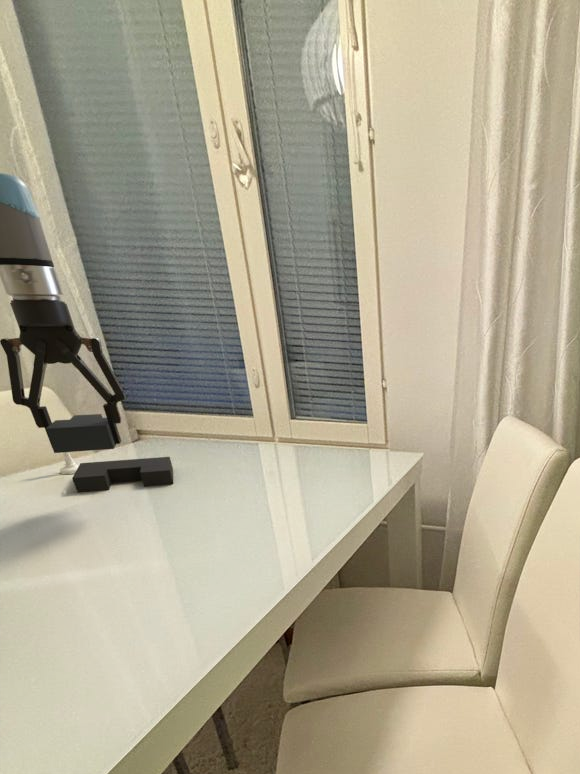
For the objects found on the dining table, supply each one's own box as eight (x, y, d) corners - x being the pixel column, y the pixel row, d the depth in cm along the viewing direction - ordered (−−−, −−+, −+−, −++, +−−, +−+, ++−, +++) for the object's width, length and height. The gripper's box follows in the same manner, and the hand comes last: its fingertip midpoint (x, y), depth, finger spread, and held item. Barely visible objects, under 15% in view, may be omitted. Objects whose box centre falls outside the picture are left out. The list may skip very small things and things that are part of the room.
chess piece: (66, 475, 125) (49, 429, 120) (56, 472, 127) (39, 426, 122) (89, 471, 128) (74, 426, 123) (79, 468, 131) (63, 423, 125)
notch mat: (77, 492, 114) (71, 478, 112) (85, 476, 124) (80, 463, 123) (173, 483, 120) (169, 470, 119) (173, 469, 131) (169, 456, 130)
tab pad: (54, 453, 94) (44, 428, 92) (68, 438, 105) (60, 416, 103) (114, 448, 98) (106, 425, 95) (121, 434, 108) (114, 413, 106)
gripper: (-57, 296, 81) (10, 453, 92) (112, 299, 89) (153, 444, 100) (-40, 297, 87) (20, 445, 98) (117, 300, 94) (155, 436, 106)
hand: (87, 444), depth 99 cm, fingers closed on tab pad, 9 cm apart
